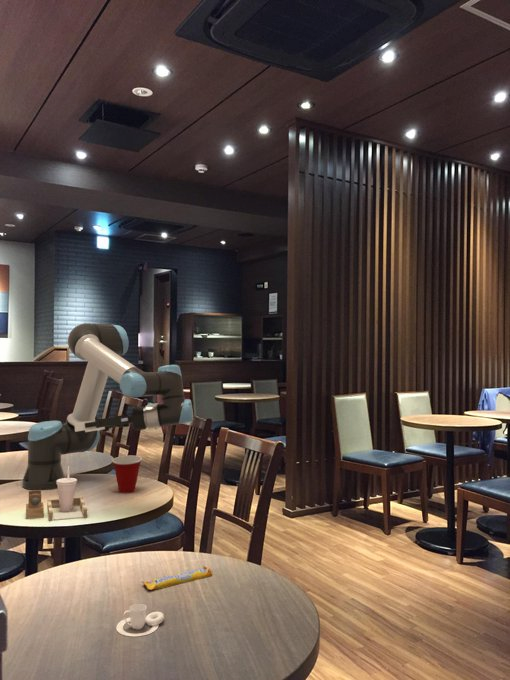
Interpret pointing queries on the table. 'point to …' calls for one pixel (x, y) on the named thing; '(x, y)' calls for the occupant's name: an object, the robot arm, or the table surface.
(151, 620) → the teacup and saucer
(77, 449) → the robot arm
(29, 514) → the winch
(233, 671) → the table surface
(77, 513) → the mat
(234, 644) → the table surface
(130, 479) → the plastic cup
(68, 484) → the smoothie
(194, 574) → the candy bar
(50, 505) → the bay
